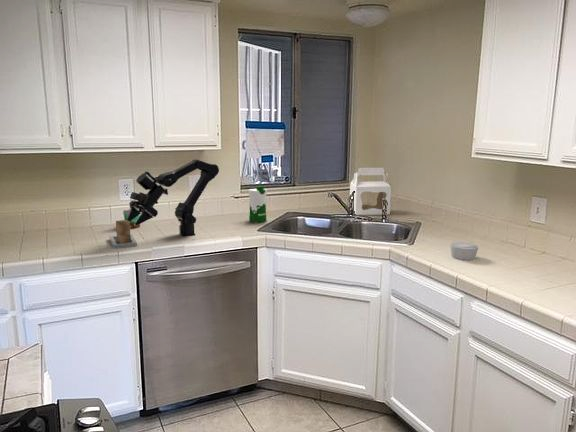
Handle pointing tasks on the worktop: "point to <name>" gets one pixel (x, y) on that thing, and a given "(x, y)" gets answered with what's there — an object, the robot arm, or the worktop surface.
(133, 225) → the food container
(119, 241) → the walnut block
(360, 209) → the gable box
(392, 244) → the worktop surface
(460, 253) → the ramekin
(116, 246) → the grey divided frame
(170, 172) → the robot arm
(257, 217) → the milk carton
